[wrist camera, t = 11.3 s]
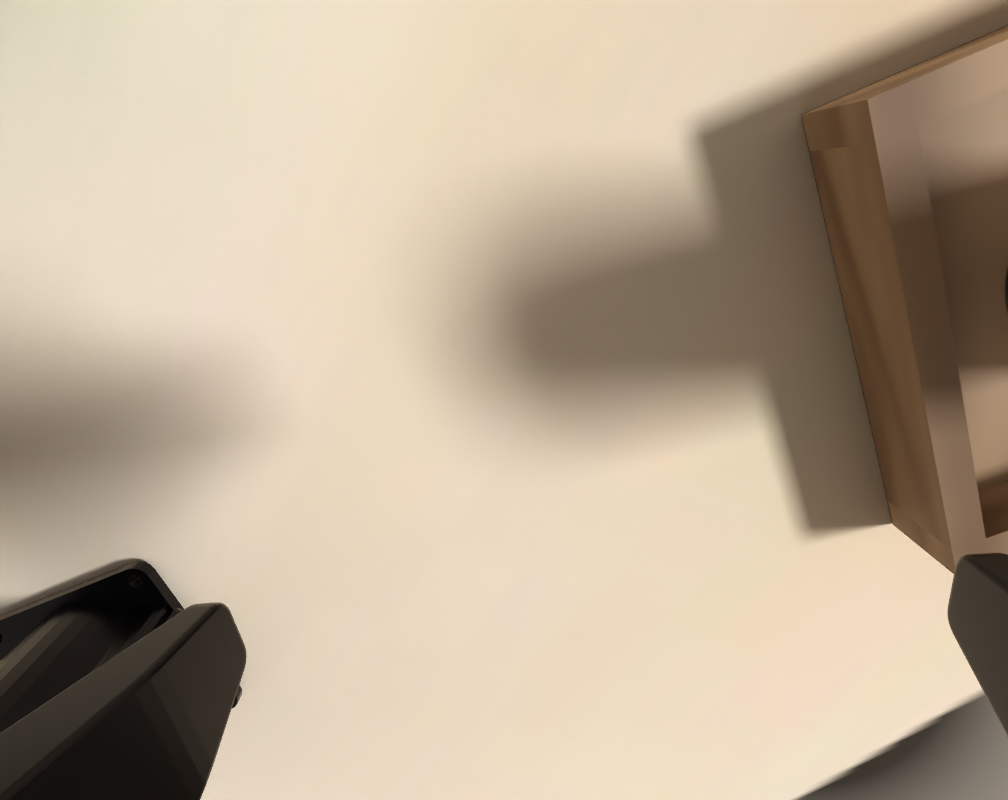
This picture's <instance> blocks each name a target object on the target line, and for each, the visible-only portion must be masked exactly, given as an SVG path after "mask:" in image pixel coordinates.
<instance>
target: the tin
mask: <svg viewBox="0 0 1008 800" xmlns="http://www.w3.org/2000/svg"><path fill="white" fill-rule="evenodd" d="M1005 302H1006V307H1007V312H1008V267H1007V272H1006V278H1005Z"/></svg>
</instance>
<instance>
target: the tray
mask: <svg viewBox="0 0 1008 800" xmlns="http://www.w3.org/2000/svg"><path fill="white" fill-rule="evenodd" d="M801 116H802V120H803V125H804V129H805V134H806V138H807V143H808V147H809V152H810V156H811V161H812V165H813V170H814V174H815V179H816V183H817V188H818V192H819V196H820V201H821V205H822V210H823V214H824V219H825V223H826V228H827V232H828V237H829V241H830V246H831V250H832V255H833V259H834V264H835V268H836V272H837V277H838V281H839V286H840V290H841V295H842V299H843V304H844V308H845V313H846V317H847V322H848V326H849V331H850V335H851V340H852V344H853V349H854V353H855V357H856V362H857V366H858V371H859V375H860V380H861V384H862V389H863V393H864V398H865V402H866V407H867V411H868V416H869V420H870V425H871V429H872V433H873V438H874V442H875V447H876V451H877V456H878V460H879V465H880V469H881V474H882V478H883V483H884V487H885V492H886V496H887V501H888V505H889V510H890V514H891V518H892V523H893V525H894V526H896V527H897V528H898V529H899V530H900V531H902V532H903V533H904V534H905V535H907V536H908V537H909V538H910V539H912V540H913V541H914V542H915V543H916V544H918V545H919V546H920V547H921V548H923V549H924V550H925V551H926V552H927V553H929V554H930V555H931V556H932V557H934V558H935V559H936V560H937V561H939V562H940V563H941V564H942V565H943V566H945V567H946V568H947V569H948V570H950V571H951V572H952V573H953V574H954V573H955V567H956V564H957V562H958V560H959V559H960V558H961V557H962V556H965V555H968V554H982V553H1004V554H1007V555H1008V312H1007V307H1006V302H1005V278H1006V272H1007V267H1008V26H1006V27H1003V28H1001V29H999V30H996V31H994V32H992V33H989V34H987V35H985V36H982V37H980V38H978V39H976V40H973V41H971V42H969V43H966V44H964V45H962V46H959V47H957V48H955V49H952V50H950V51H948V52H945V53H943V54H941V55H938V56H936V57H934V58H932V59H929V60H927V61H925V62H922V63H920V64H918V65H915V66H913V67H911V68H908V69H906V70H904V71H901V72H899V73H897V74H895V75H892V76H890V77H888V78H885V79H883V80H881V81H878V82H876V83H874V84H871V85H869V86H867V87H864V88H862V89H860V90H857V91H855V92H853V93H851V94H848V95H846V96H844V97H841V98H839V99H837V100H834V101H832V102H830V103H827V104H825V105H823V106H820V107H818V108H816V109H813V110H811V111H809V112H807V113H804V114H802V115H801Z"/></svg>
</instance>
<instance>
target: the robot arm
mask: <svg viewBox="0 0 1008 800" xmlns="http://www.w3.org/2000/svg"><path fill="white" fill-rule="evenodd" d="M135 575H138V576H140V577H141V578H142V580H139V579H137V578H136V577H135ZM948 620H949V624H950V627H951V630H952V632H953V634H954V636H955V638H956V640H957V642H958V644H959V646H960V648H961V649H962V651H963V653H964V655H965V657H966V659H967V661H968V663H969V665H970V666H971V668H972V670H973V672H974V674H975V676H976V678H977V680H978V682H979V684H980V685H981V687H982V689H983V691H984V693H985V695H986V697H987V699H988V701H989V702H990V704H991V706H992V708H993V710H994V712H995V714H996V716H997V718H998V720H999V721H1000V723H1001V725H1002V727H1003V729H1004V731H1005V733H1006V735H1007V737H1008V555H1007V554H1004V553H982V554H968V555H965V556H962V557H961V558H960V559H959V560H958V562H957V564H956V567H955V573H954V578H953V583H952V588H951V594H950V599H949V604H948ZM245 664H246V649H245V645H244V643H243V640H242V638H241V636H240V633H239V631H238V629H237V626H236V624H235V622H234V619H233V617H232V614H231V612H230V610H229V608H228V607H227V606H226V605H224V604H222V603H203V604H195V605H192V606H189V607H188V608H186V609H185V610H184V608H183V607H182V606H181V604H180V603H179V602H178V600H177V599H176V597H175V596H174V595H173V593H172V592H171V591H170V589H169V588H168V587H167V585H166V584H165V582H164V581H163V580H162V578H161V577H160V576H159V574H158V573H157V571H156V570H155V569H154V568H153V567H152V566H151V565H150V564H148V563H146V562H140V561H138V562H133V563H130V564H128V565H125V566H123V567H120V568H118V569H116V570H113V571H111V572H108V573H106V574H103V575H101V576H98V577H96V578H93V579H91V580H88V581H86V582H83V583H81V584H78V585H76V586H73V587H71V588H68V589H66V590H63V591H61V592H58V593H56V594H53V595H51V596H48V597H46V598H44V599H41V600H39V601H36V602H34V603H31V604H29V605H26V606H24V607H21V608H19V609H16V610H14V611H11V612H9V613H6V614H4V615H1V616H0V800H200V799H201V796H202V794H203V791H204V789H205V786H206V783H207V781H208V778H209V775H210V772H211V769H212V767H213V764H214V761H215V758H216V755H217V751H218V748H219V745H220V742H221V739H222V736H223V733H224V730H225V727H226V724H227V721H228V718H229V715H230V712H231V709H232V708H234V707H235V706H236V705H237V703H238V701H239V699H240V697H241V695H242V689H241V687H240V685H239V684H240V681H241V678H242V675H243V672H244V668H245Z"/></svg>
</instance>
